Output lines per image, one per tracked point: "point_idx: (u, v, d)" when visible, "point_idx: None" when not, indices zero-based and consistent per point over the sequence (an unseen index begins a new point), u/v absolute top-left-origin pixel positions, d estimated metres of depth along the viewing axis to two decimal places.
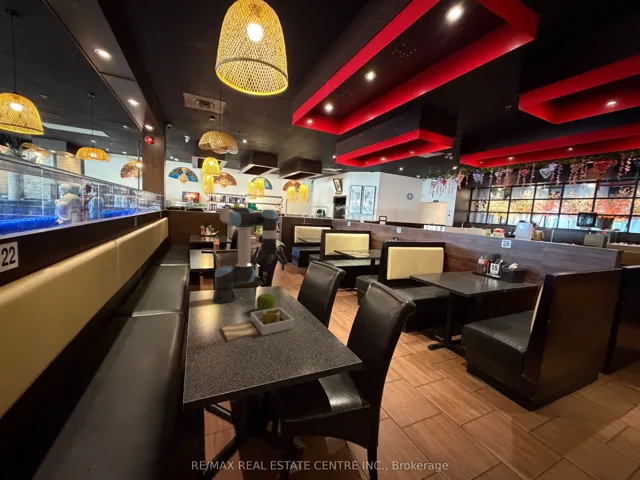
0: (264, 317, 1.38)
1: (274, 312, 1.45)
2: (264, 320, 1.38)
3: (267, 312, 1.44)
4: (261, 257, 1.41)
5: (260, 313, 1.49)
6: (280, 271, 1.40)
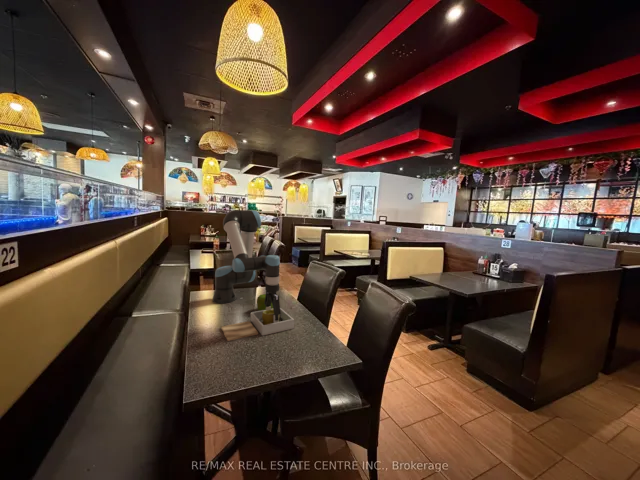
0: (264, 317, 1.38)
1: None
2: (264, 320, 1.39)
3: (267, 312, 1.45)
4: (270, 300, 1.46)
5: (260, 313, 1.49)
6: (273, 320, 1.38)
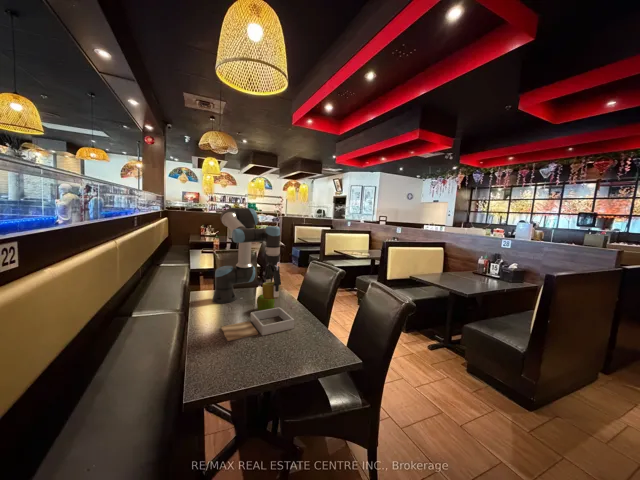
0: (264, 288, 1.37)
1: None
2: (264, 291, 1.37)
3: (267, 284, 1.43)
4: (270, 273, 1.44)
5: (260, 313, 1.49)
6: None
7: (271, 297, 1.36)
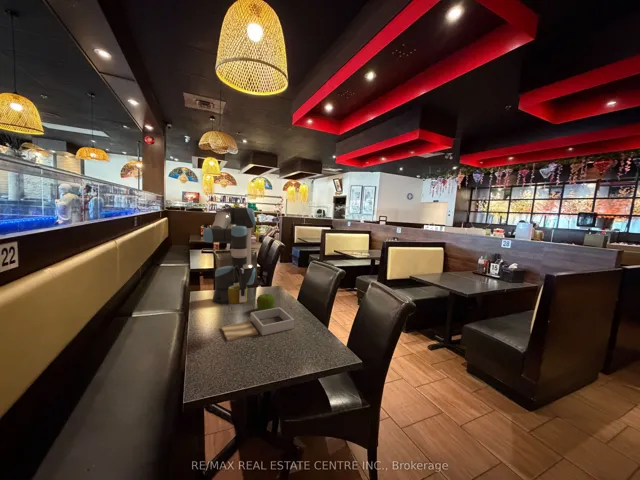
0: (229, 292, 1.27)
1: None
2: (229, 295, 1.28)
3: (234, 288, 1.34)
4: None
5: (260, 313, 1.49)
6: (239, 296, 1.27)
7: (237, 302, 1.27)
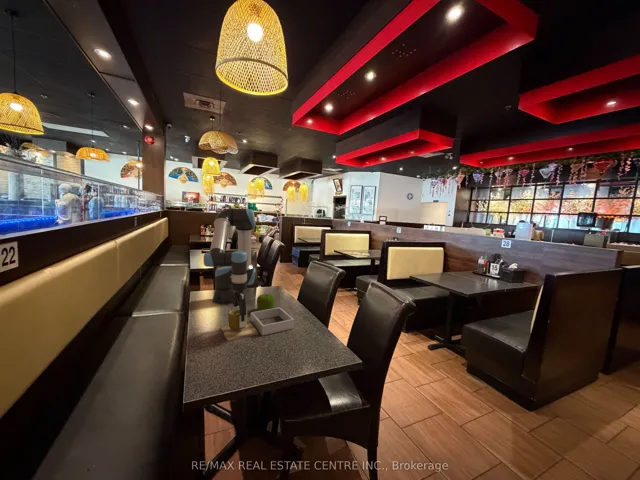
0: (229, 317, 1.29)
1: None
2: (229, 321, 1.29)
3: (234, 312, 1.35)
4: None
5: (260, 313, 1.49)
6: (239, 321, 1.28)
7: (237, 327, 1.28)
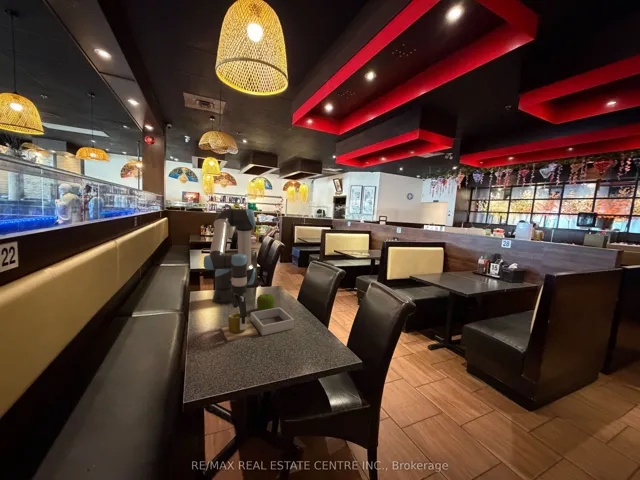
0: (229, 321, 1.29)
1: None
2: (229, 324, 1.29)
3: (234, 315, 1.35)
4: None
5: (260, 313, 1.49)
6: None
7: (237, 331, 1.28)
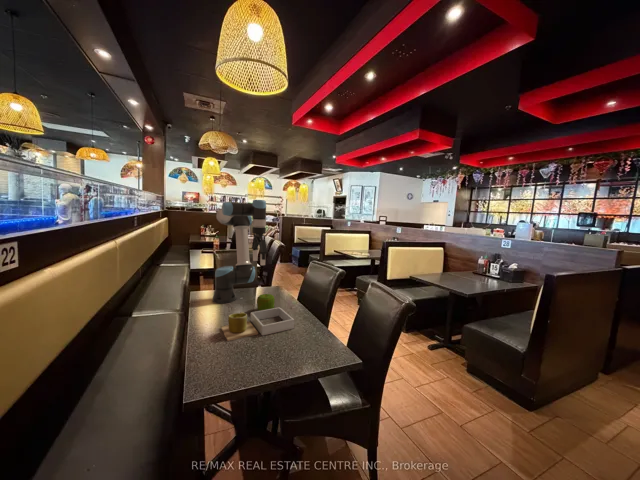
0: (229, 321, 1.29)
1: (242, 315, 1.36)
2: (229, 324, 1.29)
3: (234, 315, 1.35)
4: (257, 244, 1.53)
5: (260, 313, 1.49)
6: (260, 259, 1.44)
7: (237, 331, 1.28)
